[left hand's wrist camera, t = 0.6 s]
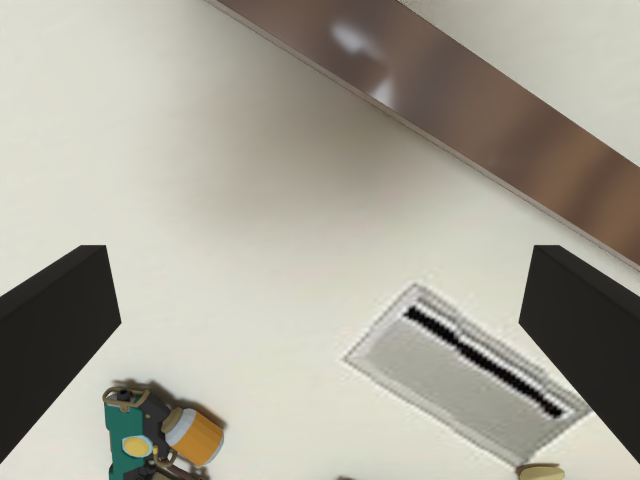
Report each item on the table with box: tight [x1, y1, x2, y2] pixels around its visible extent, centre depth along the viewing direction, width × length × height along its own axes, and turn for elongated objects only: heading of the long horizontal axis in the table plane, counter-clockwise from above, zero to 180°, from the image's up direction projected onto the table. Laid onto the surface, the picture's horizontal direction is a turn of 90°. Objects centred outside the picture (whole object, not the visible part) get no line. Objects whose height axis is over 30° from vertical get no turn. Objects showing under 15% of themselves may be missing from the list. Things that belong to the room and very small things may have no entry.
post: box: [205, 0, 640, 272], centre depth 31 cm, size 54×6×8 cm, turn 60°
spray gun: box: [103, 387, 224, 480], centre depth 45 cm, size 4×17×15 cm
